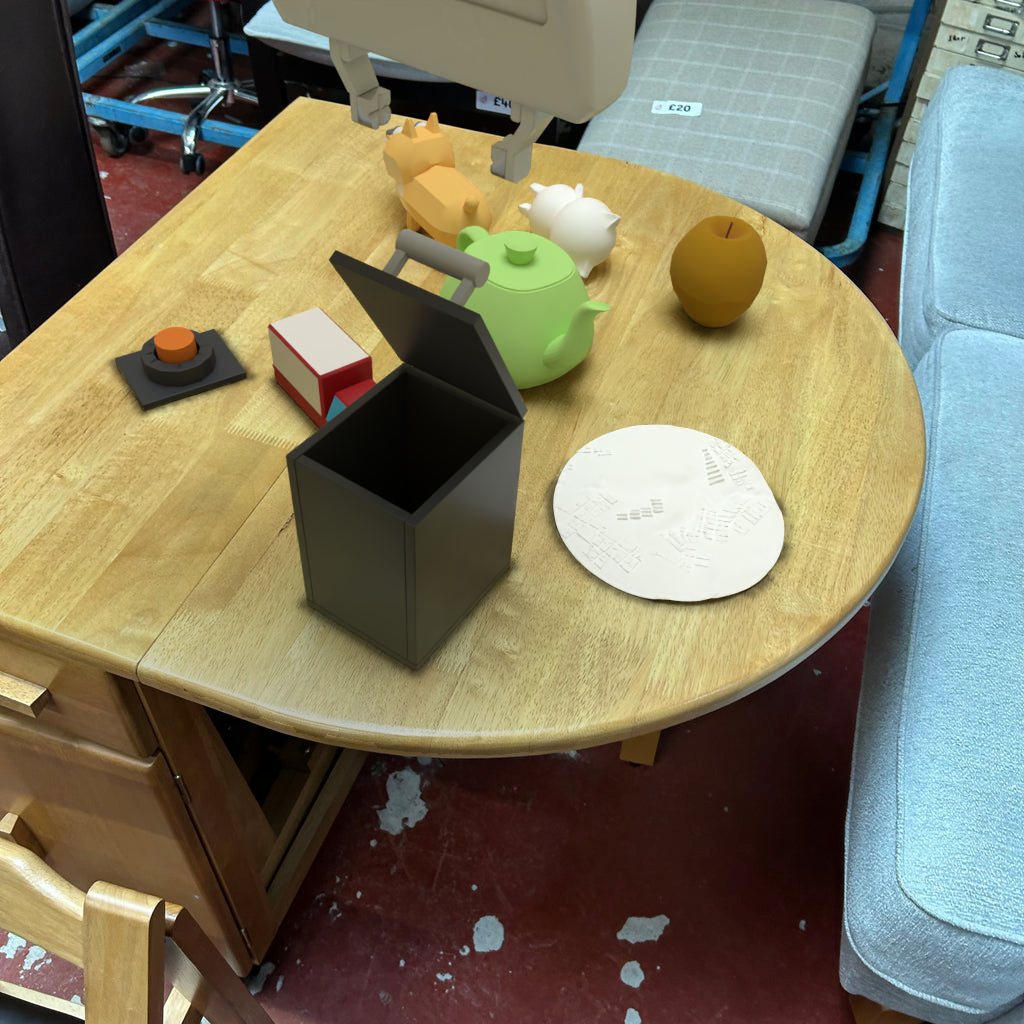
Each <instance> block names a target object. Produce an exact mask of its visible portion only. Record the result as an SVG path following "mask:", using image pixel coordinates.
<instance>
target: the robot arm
mask: <svg viewBox="0 0 1024 1024" xmlns="http://www.w3.org/2000/svg"><path fill="white" fill-rule="evenodd" d="M271 2H272V4H273V6H274V7H275V10H276V12H277V13H278V15H279V16H280V18H281V20H282V21H283V22H284V23H286V24H288V25H289V26H293V27H296V28H299V29H302V30H304V31H308V32H309V33H312V34H313V33H314V34H317V35H319V36H322V37H324V38H328V45H329V46H328V47H329V55H330V56H329V57H330V59H331V62H332V64H333V65H334V67H335V69H336V71H337V73H338V76H339V77H340V79H341V81H342V83H343V85H344V88H345V89H346V91H347V93H349V104H350V105H349V106H350V118H351V121H352V122H353V123H355V124H357V125H360V126H363V127H365V128H368V129H371V130H374V131H375V130H378V129H380V127H382V126H383V127H384V126H386V125H387V124H388V123H389V122H390V120H391V117H392V110H391V107H390V104H391V101H392V100H391V90H390V89H387V88H385V87H382V86H381V85H380V84H379V81H378V78H377V76H376V73H375V70H374V67H373V65H372V62H371V59H370V57H369V54H370V53H371V54H374V55H377V56H379V57H383V58H386V59H389V60H392V61H394V62H397V63H399V64H403V65H406V66H409V67H412V68H414V69H417V70H419V71H423V72H425V73H428V74H431V75H434V76H437V77H440V78H443V79H446V80H449V81H452V82H455V83H458V84H460V85H464V86H466V87H470V88H472V89H474V90H478V91H481V92H483V93H486V94H489V95H492V96H495V97H497V98H501V99H504V100H507V101H509V102H510V120H511V121H512V122H514V123H518V124H519V123H520V124H519V126H518V127H517V128H516V130H515V131H514V132H513V134H512V133H509V134H507V135H506V136H504V137H503V138H502V140H499V141H496V142H495V143H493V144H491V146H490V159H491V162H492V163H491V165H490V166H489V172H490V174H491V175H492V176H494V177H497V178H500V179H502V180H505V181H507V182H510V183H513V184H517V183H519V182H520V181H522V180H524V179H525V178H527V176H528V175H529V174H530V171H531V167H532V157H533V147H534V144H535V143H536V142H537V141H538V139H539V138H540V136H541V135H542V134H543V133H544V131H545V130H546V128H547V127H548V126H549V124H550V123H551V121H552V120H553V119H554V118H559V119H561V120H564V121H566V122H569V123H573V124H576V125H577V124H579V125H580V124H584V123H587V122H588V121H590V120H592V119H593V118H594V117H596V116H598V115H600V114H601V113H603V112H604V111H606V110H607V109H608V108H609V107H611V106H612V105H613V104H614V103H616V101H617V100H619V99H620V97H621V96H622V95H623V94H624V92H625V90H626V88H627V86H628V83H629V79H630V74H631V68H632V59H633V53H634V44H635V32H636V21H637V20H636V18H637V2H638V0H271Z"/></svg>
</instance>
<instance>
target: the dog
mask: <svg viewBox="0 0 1024 1024" xmlns="http://www.w3.org/2000/svg"><path fill="white" fill-rule="evenodd" d="M384 144H385V145H384V147H383V149H382V157H383V162H384V165H385V169H386V172H387V175H388V176H389V177H391V178H392V179H394V180H395V185H394V190H395V192H396V194H397V196H398V198H399V200H400V203H401V205H402V206H403V208H405V210H406V227H407V228H406V229H410V230H412V231H414V232H418V231H419V229H420V227H421V228H423V230H424V231H426V232H427V233H428V234H429V235H430V236H431V237H432V239H433V240H436V241H438V242H440V243H443V244H445V245H448V246H450V247H452V248H455V249H457V237H458V234H459V232H460V231H461V230H463V229H464V228H466V227H469V226H479V227H482V228H483V229H485V230H486V231H487V232H488V233H489V231H490V229H491V227H492V225H493V214H492V211H491V208H490V206H489V203H488V201H487V198H486V196H485V194H484V193H483V192H482V190H480V188H478V187H477V186H476V185H474V184H473V183H472V182H471V181H470V180H469V179H467V177H465V176H464V175H463V174H462V173H460V172H459V171H458V170H457V169H456V157H455V152H454V147H453V146H452V143H451V142H450V140H449V137H448V136H447V134H446V132H445V131H444V130H443V129H442V128H440V124H439V119H438V114H437V113H436V112H435V111H434V112H430V114H429V117H428V119H427V121H417V122H416V123H415V124H414V121H413V118H412V117H406V118H405V121H404V123H403V126H401V125H396V126H395V127H394V128H389V129H386V132H385V139H384Z"/></svg>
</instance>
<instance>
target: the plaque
mask: <svg viewBox="0 0 1024 1024" xmlns="http://www.w3.org/2000/svg"><path fill="white" fill-rule="evenodd" d="M552 505H553V506H552V507H553V515H554V520H555V521H554V522H555V525H556V527H557V531H558V533H559V535H560V537H561V539H562V541H563V543H564V544H565V546H566V547H567V549H568V550H569V552H570V554H572V556H573V557H574V558H575V559H576V560H577V561H578V562H579V563H580V564H581V565H582V566H583V567H584V568H585V569H586V570H588V571H589V572H590V573H591V574H593V575H594V576H596V577H597V578H598V579H600V580H602V581H603V582H605V583H606V584H608V585H610V586H612V587H614V588H616V589H618V590H620V591H622V592H624V593H627V594H630V595H633V596H636V597H639V598H644V599H650V600H671V601H678V602H700V601H705V600H709V599H719V598H723V597H727V596H731V595H734V594H737V593H740V592H743V591H745V590H747V589H749V588H751V587H753V586H754V585H756V584H757V583H759V582H760V581H762V579H763V578H764V577H765V576H766V575H767V574H768V573H769V572H770V571H771V569H772V568H773V567H774V565H775V564H776V563H777V561H778V559H779V557H780V555H781V552H782V550H783V546H784V541H785V521H784V517H783V513H782V510H781V509H780V507H779V505H778V503H777V501H776V498H775V496H774V493H773V491H772V489H771V487H770V486H769V485H768V483H767V481H766V479H765V477H764V475H763V474H762V472H761V471H760V469H759V468H758V466H757V465H756V463H754V461H752V460H751V459H750V458H749V457H748V456H747V455H745V454H744V453H743V452H742V451H741V450H739V449H738V448H736V447H735V446H733V445H732V444H730V443H729V442H726V441H725V440H722V439H721V438H719V437H715V436H713V435H711V434H708V433H706V432H703V431H700V430H696V429H693V428H688V427H681V426H676V425H672V424H638V425H632V426H627V427H622V428H619V429H616V430H613V431H609V432H607V433H604V434H602V435H600V436H597V437H596V438H593V440H591V441H589V442H587V443H586V444H585V445H583V446H582V447H581V448H580V449H579V450H577V452H576V453H574V455H572V457H571V458H570V459H569V460H568V461H567V463H566V464H565V465H564V467H563V469H562V471H561V473H560V474H559V476H558V480H557V482H556V485H555V489H554V492H553V501H552Z"/></svg>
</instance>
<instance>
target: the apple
mask: <svg viewBox="0 0 1024 1024" xmlns="http://www.w3.org/2000/svg"><path fill="white" fill-rule="evenodd" d="M766 251H767V250H766V248H765V244H764V241H763V239H762V237H761V235H760V233H759V232H758V230H756V229H755V228H754V227H753V225H751V223H748V222H747V221H745V220H744V219H742V218H738V217H734V216H728V215H712V216H709V217H705V218H703V219H702V220H701V221H699V222H698V223H697V224H695V225H694V226H692V228H691V229H689V230H688V232H687V233H686V234H685V235H684V236H683V237H682V238H681V239H680V240H679V241H678V242H677V244H676V246H675V248H674V250H673V252H672V254H671V258H670V259H671V260H670V266H669V276H670V281H671V286H672V290H673V292H674V293H675V295H676V297H677V299H678V300H679V303H680V304H681V307H683V310H684V311H685V313H686V314H687V315H688V316H689V317H690V318H691V319H692V320H693V321H694V322H696V323H697V324H698V325H700V326H702V327H705V328H722V327H723V328H724V327H726V326H728V325H730V324H733V323H734V322H735V321H736V320H738V319H739V318H740V317H741V316H742V315H743V314H745V313H746V311H749V309H750V308H751V306H752V305H753V303H754V302H755V300H756V299H757V297H758V295H759V293H760V291H761V290H762V287H763V284H764V279H765V276H766V271H767V266H768V258H767V252H766Z"/></svg>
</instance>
